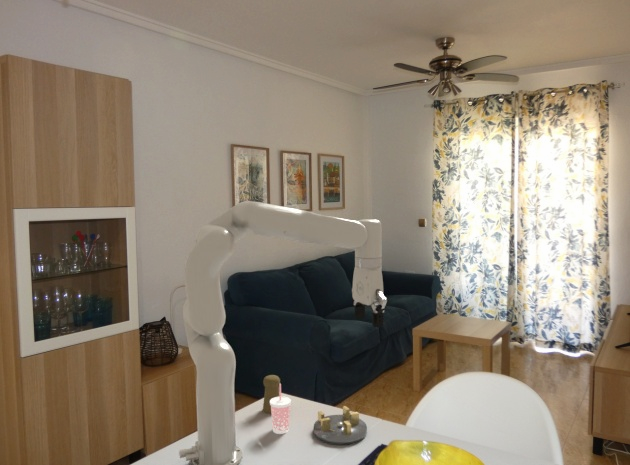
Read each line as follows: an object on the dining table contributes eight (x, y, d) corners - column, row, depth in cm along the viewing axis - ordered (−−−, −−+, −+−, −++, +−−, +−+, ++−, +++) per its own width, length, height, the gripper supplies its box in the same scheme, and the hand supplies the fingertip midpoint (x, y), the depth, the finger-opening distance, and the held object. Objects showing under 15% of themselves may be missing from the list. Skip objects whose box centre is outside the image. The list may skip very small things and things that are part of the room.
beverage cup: (288, 437, 142) (287, 388, 141) (267, 435, 143) (266, 387, 142) (293, 426, 148) (293, 380, 147) (273, 425, 149) (272, 379, 148)
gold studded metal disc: (376, 438, 140) (376, 422, 140) (326, 449, 134) (326, 432, 134) (351, 416, 154) (351, 401, 154) (305, 425, 148) (305, 410, 148)
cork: (270, 416, 155) (269, 381, 154) (258, 410, 159) (258, 376, 159) (285, 410, 159) (285, 376, 158) (273, 404, 164) (273, 371, 163)
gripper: (342, 260, 150) (342, 317, 151) (373, 268, 134) (373, 331, 136) (364, 258, 153) (364, 314, 155) (396, 266, 138) (396, 328, 139)
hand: (368, 322), depth 145 cm, fingers open, 9 cm apart
